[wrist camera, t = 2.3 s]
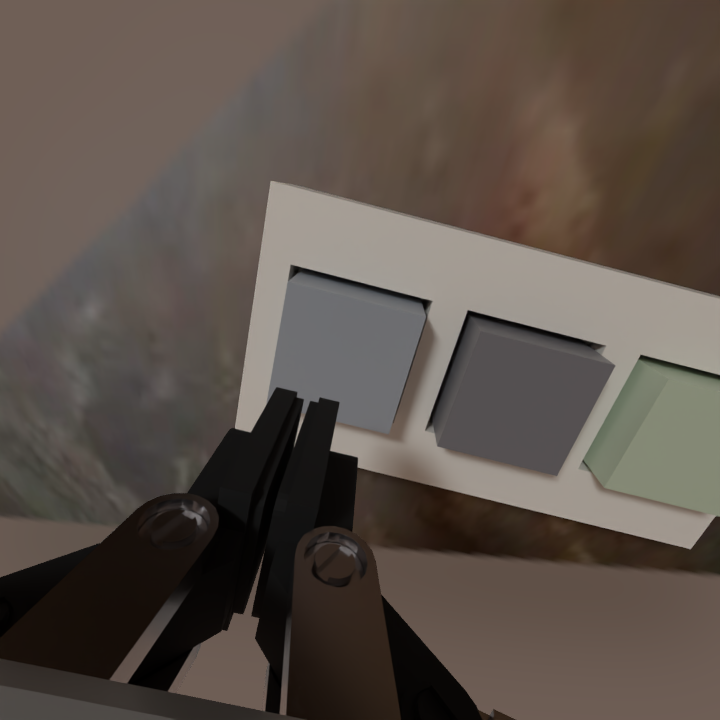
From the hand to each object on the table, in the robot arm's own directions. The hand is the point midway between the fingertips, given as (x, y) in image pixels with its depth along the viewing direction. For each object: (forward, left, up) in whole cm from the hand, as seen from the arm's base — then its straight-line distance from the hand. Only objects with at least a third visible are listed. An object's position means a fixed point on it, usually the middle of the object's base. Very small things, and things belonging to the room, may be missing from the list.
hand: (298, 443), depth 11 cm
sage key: (-15, 0, -8) cm, 17 cm away
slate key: (-1, 0, -8) cm, 8 cm away
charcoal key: (-8, 0, -8) cm, 11 cm away
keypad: (-8, 0, -11) cm, 13 cm away
